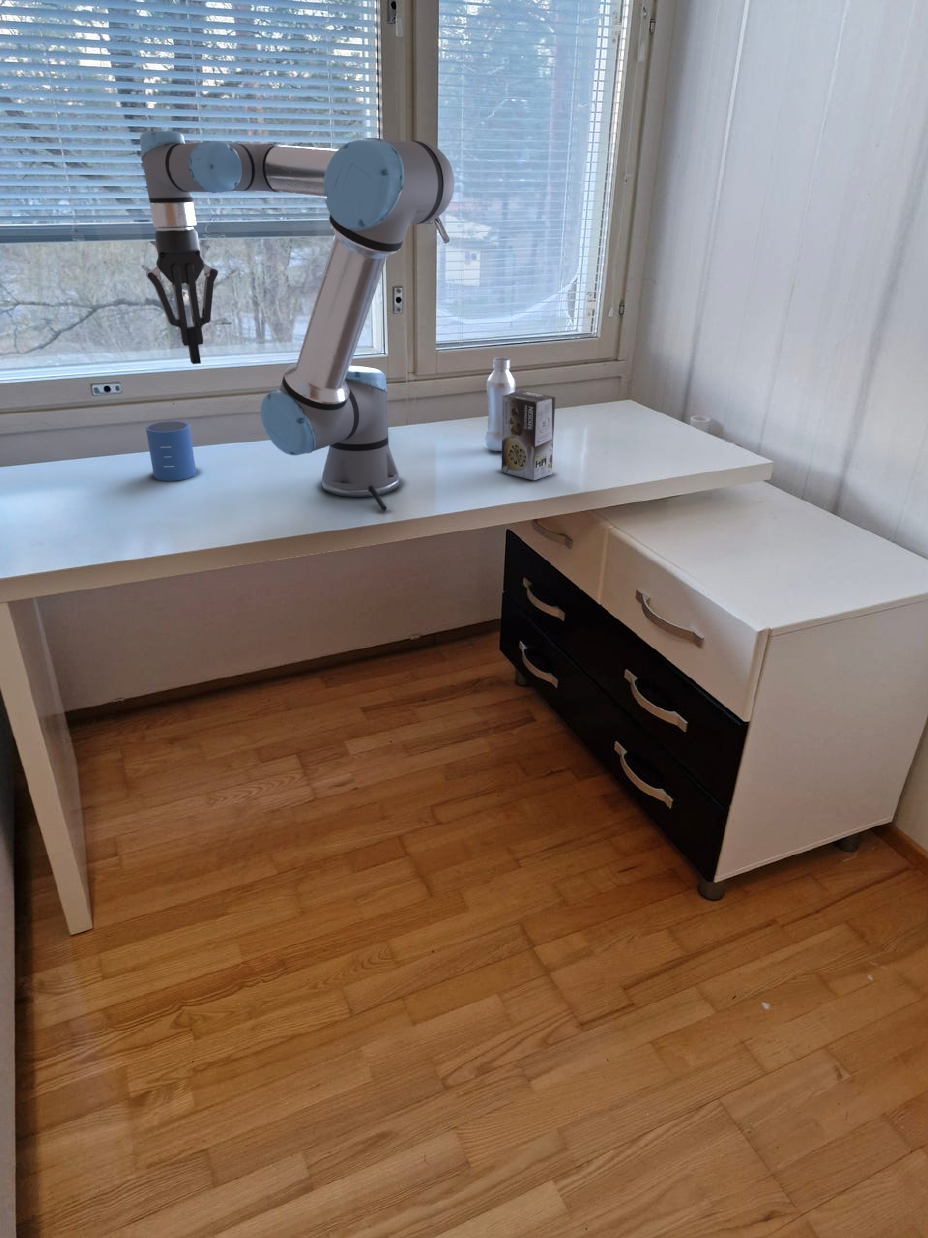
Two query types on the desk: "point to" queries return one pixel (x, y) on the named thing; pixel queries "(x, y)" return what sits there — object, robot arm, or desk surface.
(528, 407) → the coffee box
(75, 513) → the desk surface
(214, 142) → the robot arm
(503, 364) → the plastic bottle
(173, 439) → the measuring cup
